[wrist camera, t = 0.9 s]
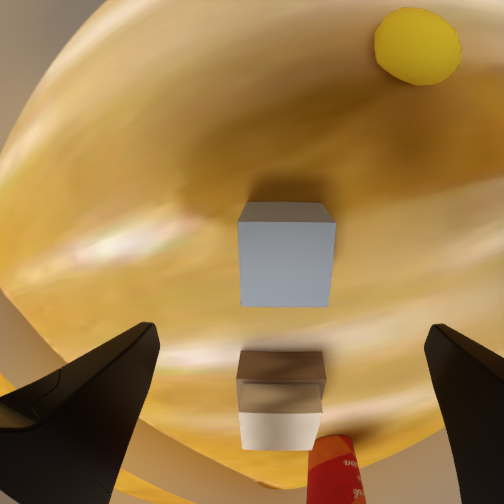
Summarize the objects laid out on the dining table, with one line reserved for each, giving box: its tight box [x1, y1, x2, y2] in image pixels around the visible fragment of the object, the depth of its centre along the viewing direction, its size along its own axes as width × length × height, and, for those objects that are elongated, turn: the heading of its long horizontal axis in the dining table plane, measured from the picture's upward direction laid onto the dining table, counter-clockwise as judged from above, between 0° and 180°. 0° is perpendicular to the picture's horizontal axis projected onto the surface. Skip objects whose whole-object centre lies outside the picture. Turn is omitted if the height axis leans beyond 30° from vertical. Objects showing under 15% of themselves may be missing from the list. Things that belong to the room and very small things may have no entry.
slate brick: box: [238, 202, 336, 307], centre depth 18 cm, size 5×5×5 cm
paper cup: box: [306, 435, 366, 504], centre depth 23 cm, size 8×8×14 cm
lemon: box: [374, 7, 462, 86], centre depth 12 cm, size 7×5×5 cm
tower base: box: [236, 351, 326, 451], centre depth 22 cm, size 7×7×6 cm
